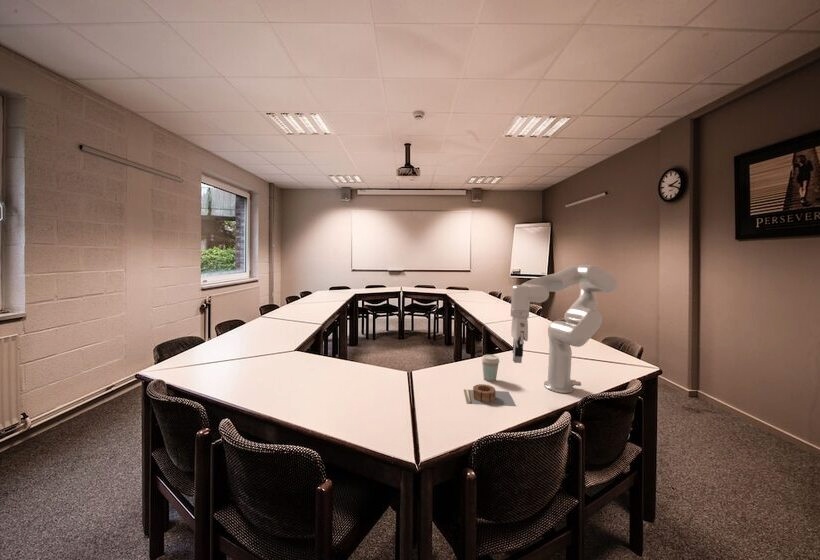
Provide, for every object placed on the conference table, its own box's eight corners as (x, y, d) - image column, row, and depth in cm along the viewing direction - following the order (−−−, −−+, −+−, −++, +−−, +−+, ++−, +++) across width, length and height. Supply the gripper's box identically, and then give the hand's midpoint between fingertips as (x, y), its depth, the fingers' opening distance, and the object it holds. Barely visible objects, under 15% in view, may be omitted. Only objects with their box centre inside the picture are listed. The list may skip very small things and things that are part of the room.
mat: (508, 392, 144) (508, 389, 144) (516, 407, 130) (516, 404, 130) (463, 390, 146) (463, 387, 146) (466, 405, 132) (466, 401, 132)
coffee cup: (499, 384, 153) (500, 360, 152) (481, 383, 155) (481, 358, 154) (498, 378, 161) (498, 354, 161) (480, 376, 163) (481, 353, 162)
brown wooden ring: (492, 393, 142) (493, 384, 141) (496, 402, 133) (496, 393, 133) (472, 392, 142) (472, 383, 142) (474, 401, 134) (474, 392, 133)
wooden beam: (519, 360, 142) (521, 336, 141) (521, 363, 139) (522, 338, 138) (512, 360, 142) (514, 336, 142) (514, 362, 139) (515, 337, 139)
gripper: (534, 317, 131) (531, 361, 132) (523, 310, 147) (521, 350, 149) (515, 316, 131) (513, 360, 133) (506, 310, 148) (504, 349, 149)
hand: (517, 354), depth 141 cm, fingers closed on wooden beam, 3 cm apart
